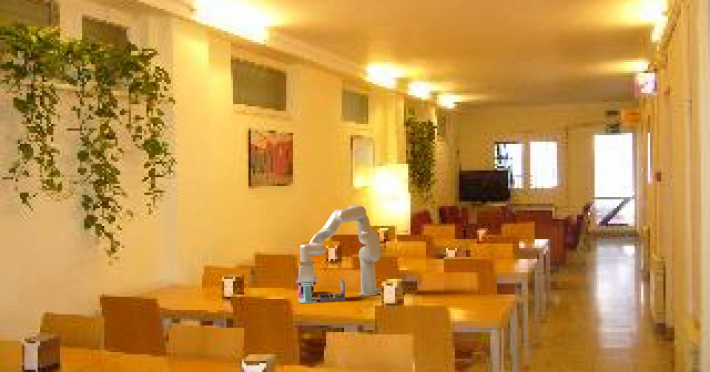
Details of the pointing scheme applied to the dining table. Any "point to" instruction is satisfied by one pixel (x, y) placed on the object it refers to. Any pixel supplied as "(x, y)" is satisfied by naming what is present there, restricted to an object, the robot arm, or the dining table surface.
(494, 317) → the dining table surface
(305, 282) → the gum box
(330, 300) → the rack
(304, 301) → the mat
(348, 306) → the dining table surface
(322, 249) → the robot arm
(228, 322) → the dining table surface
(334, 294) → the offcut stack
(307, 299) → the teal board
